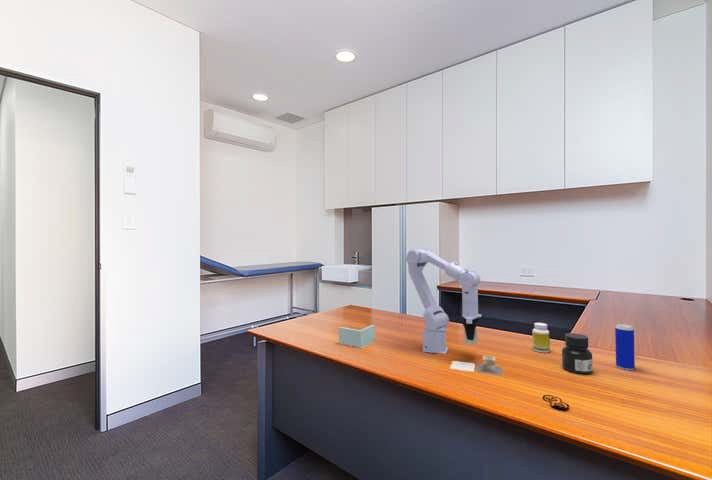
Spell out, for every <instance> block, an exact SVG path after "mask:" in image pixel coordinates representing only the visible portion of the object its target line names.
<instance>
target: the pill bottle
mask: <svg viewBox="0 0 712 480" xmlns="http://www.w3.org/2000/svg"><path fill="white" fill-rule="evenodd" d="M533 324H534V325H533V327H534V328H533V329H532V332H531V333H532V334H531V335H532V350H533V351H535V352H537V353H544V354H545V353H550V350H551V346H550V345H551V343H550V340H551V339H550V331H549V330H548V324H547V323H544V322H535V323H533Z"/></svg>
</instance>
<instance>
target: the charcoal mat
mask: <svg viewBox="0 0 712 480" xmlns="http://www.w3.org/2000/svg"><path fill="white" fill-rule="evenodd" d="M495 370H496V372H489V371H483V363H477V368H476V373H480V374H487V375H488V374H489V375H496V376H503V372H502V370H503V369H502V366H497V365H495Z"/></svg>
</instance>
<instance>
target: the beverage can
mask: <svg viewBox="0 0 712 480" xmlns="http://www.w3.org/2000/svg"><path fill="white" fill-rule="evenodd" d="M614 337H615V340H614V341H615V344H614V345H615V365H616V367H617V368H618V369H621V370H624V369H625V371H633V370H634V369H635V367H636V366H635V363H636V362H635V360H636V359H635V358H636V357H635V328H634V326H632V325H629V324H624V323H617V324H616V325H615V326H614Z"/></svg>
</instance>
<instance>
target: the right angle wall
mask: <svg viewBox="0 0 712 480" xmlns="http://www.w3.org/2000/svg"><path fill="white" fill-rule="evenodd" d="M375 327H376V325H375V324H371V325H369V326H366V327H365V328H362V329H355V328H348V327H343V326H339V327H338V344H339V343H341V344H340V345H342V344H345V345H344V346H347V345H350V346H349V347H352V346H354V347H353V348H357V347H359V348H358V349H362V347H363V348H364V347H366V346H368V345H370V344H372V343H374V342H375V341H376V331H375V330H376V328H375Z"/></svg>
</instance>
